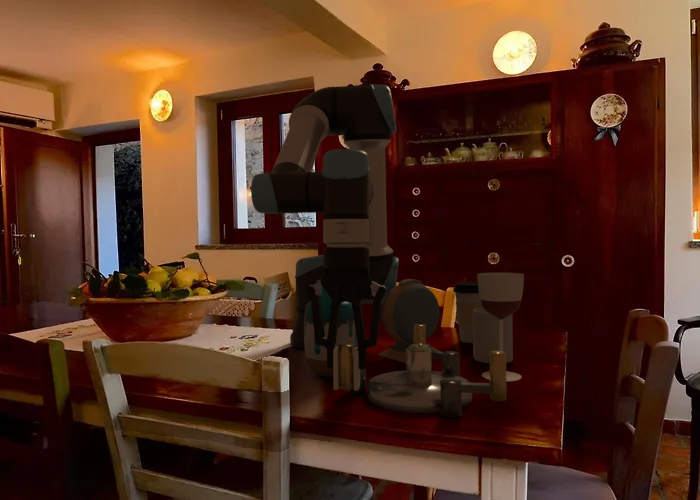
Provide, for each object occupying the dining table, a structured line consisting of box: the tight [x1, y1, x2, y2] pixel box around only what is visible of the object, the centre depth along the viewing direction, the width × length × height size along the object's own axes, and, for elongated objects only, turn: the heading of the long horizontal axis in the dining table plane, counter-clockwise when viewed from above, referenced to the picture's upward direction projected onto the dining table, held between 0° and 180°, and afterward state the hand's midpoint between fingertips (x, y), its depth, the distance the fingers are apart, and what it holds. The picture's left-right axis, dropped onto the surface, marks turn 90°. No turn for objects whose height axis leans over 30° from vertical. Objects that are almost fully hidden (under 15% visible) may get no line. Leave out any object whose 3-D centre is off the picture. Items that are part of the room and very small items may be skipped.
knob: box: [338, 344, 367, 395], centre depth 88 cm, size 10×3×10 cm, turn 165°
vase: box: [304, 280, 358, 378], centre depth 103 cm, size 11×11×19 cm
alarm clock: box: [377, 278, 442, 364], centre depth 119 cm, size 14×10×18 cm
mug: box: [472, 308, 514, 364], centre depth 115 cm, size 12×8×11 cm
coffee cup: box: [452, 281, 483, 344], centre depth 133 cm, size 9×9×15 cm
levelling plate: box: [366, 344, 473, 414], centre depth 89 cm, size 18×18×9 cm
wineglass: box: [477, 272, 525, 382], centre depth 100 cm, size 8×9×20 cm
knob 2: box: [440, 351, 507, 419], centre depth 78 cm, size 10×3×10 cm, turn 79°
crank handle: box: [413, 324, 461, 377], centre depth 99 cm, size 10×3×10 cm, turn 49°
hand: (346, 387), depth 84 cm, fingers open, 3 cm apart
